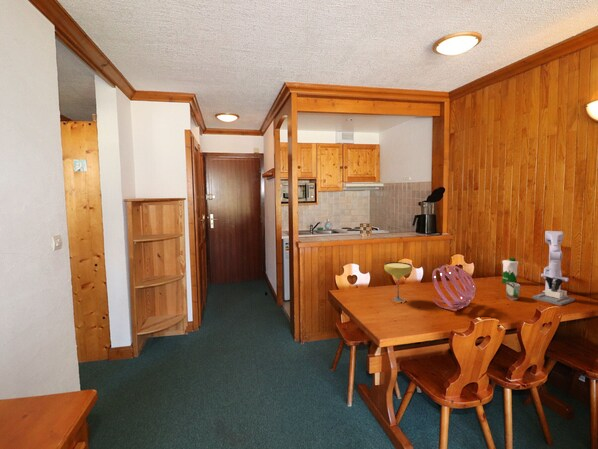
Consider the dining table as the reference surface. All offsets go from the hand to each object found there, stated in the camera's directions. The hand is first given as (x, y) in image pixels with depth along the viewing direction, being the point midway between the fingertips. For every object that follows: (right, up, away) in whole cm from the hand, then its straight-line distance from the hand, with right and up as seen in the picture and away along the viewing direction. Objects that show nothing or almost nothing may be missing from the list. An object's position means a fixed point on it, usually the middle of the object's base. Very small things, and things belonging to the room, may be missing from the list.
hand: (553, 289), depth 207 cm
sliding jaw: (+1, -5, +1) cm, 5 cm away
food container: (-23, -7, +4) cm, 25 cm away
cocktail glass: (-102, -9, +6) cm, 103 cm away
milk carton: (-3, -4, +39) cm, 40 cm away
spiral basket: (-72, -10, -9) cm, 73 cm away
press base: (0, -7, +1) cm, 7 cm away
